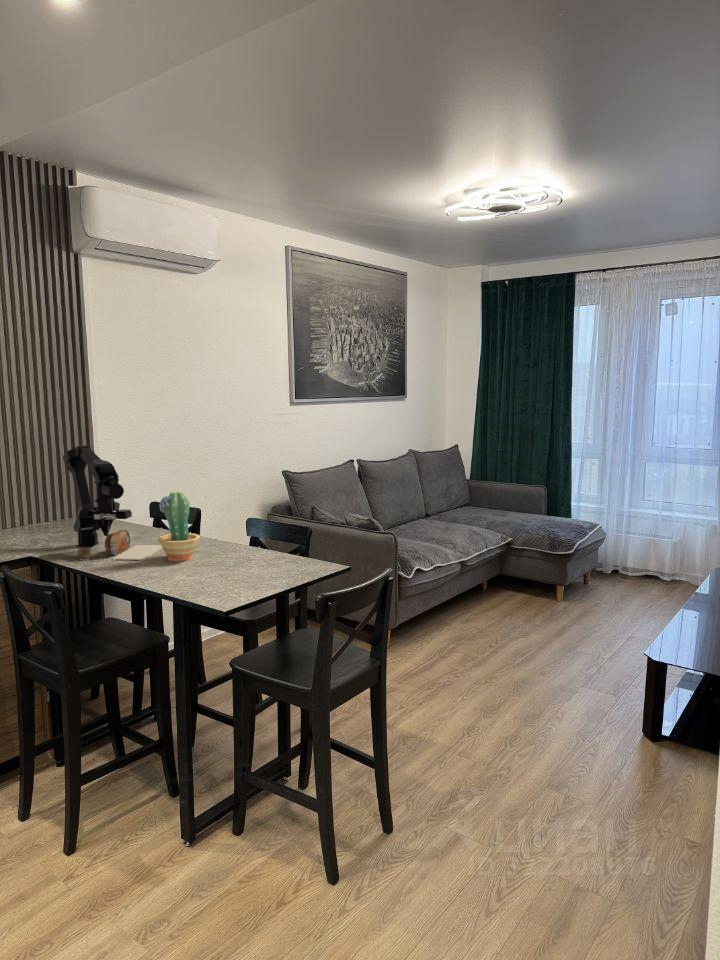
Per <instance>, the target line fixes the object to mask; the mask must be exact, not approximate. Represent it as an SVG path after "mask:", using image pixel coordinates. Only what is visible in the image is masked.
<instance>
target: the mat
mask: <svg viewBox="0 0 720 960" xmlns="http://www.w3.org/2000/svg"><path fill="white" fill-rule="evenodd" d="M159 550H160V551H161V550H163V548H162V545H159V544H158V545H156V544H155V545H152V544H151V545H150V544H148V545H147V544H145V545H144V544H135V545H133V546H132V547H129V548H128V550H126V551H124V552H123V553H121V554H119V555H117V556H113V557H112V558H111V560H112V559H116V560H115V561H130V560H139V561H138V562H140V561H141V562H143V561H145V560H147V559H149V558H150V557H151V556H154V555H155V554H157V553H159V552H160V551H159ZM156 552H157V553H156Z"/></svg>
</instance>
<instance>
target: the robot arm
mask: <svg viewBox="0 0 720 960" xmlns="http://www.w3.org/2000/svg"><path fill="white" fill-rule="evenodd" d="M62 455H63V456H62V459H63V460H62V461H63V463H64V465H65V468H66V470H67V471H68V472H70V473H71V476H72V481H73V484H74V489H75V490H74V491H75V493H76V494H75V495H76V498H77V503H78V510H77V512H76V520H75V521H74V524H73V531H74V532H76V533H77V543H78V544H76V545H75V546H79V547H78V548H82V547H90V548H92V546H93V547H94V545H95V546H97V545H99V544H100V542H99V540H98V537H99V535H98V533H97V531H99V530H101V532H102V534H103V536H104V537H107V536H108V535H109V534H110V533H109V532H110V530H111V528H112V524H113V523H114V521H116V520H128V519H129V518H132V517H133V515H132V514H133V513H132V512H133V511H131V509H120V504H121V503H119V502H118V501H115V500H118V499H120V498H121V497H123V495H124V493H125V490H124V486H122V485H121V484H120V483H119V481H120V478H119V475H118V472H117V470H116V468H115V465H114V464H113V463H111V462H110V461H107V460H103V459H101V458H100V457H99V456H98V455H97V454H96V453H95V452H94V451H93V450H92V449H91V447H90V445H78V446H75V447H74V448H72V449H69V450H66V451H65V453H64V454H62ZM87 465H88V466H89V468H90V469H91V470H90V471H91V472H90V474H92V477H93V479H94V481H93V484H95V493H96V496H95V497H96V498H95V499H94V500H95V501H94V502H95V503H96V507H95V506H94V505H93V503H92V499H91V495H90V491H89V490H90V489H89V486H88V481H87V477H86V471H85V469H86V467H87ZM98 543H99V544H98ZM96 544H97V545H96Z"/></svg>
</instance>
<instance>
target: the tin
mask: <svg viewBox="0 0 720 960" xmlns="http://www.w3.org/2000/svg"><path fill="white" fill-rule="evenodd" d="M130 544H131V536H130V533H129V531H128V530H127V529H122V530H121V529H120V530H117V531H115V532H112V533H109V534H108V536H105V540H104V547H105V548H104V549H105V553H106V554H107V555H108V556H111V555H113V556H114V555H117V554H119V553H122V552H124V551H126V550H128V549H130Z"/></svg>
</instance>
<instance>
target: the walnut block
mask: <svg viewBox="0 0 720 960" xmlns="http://www.w3.org/2000/svg"><path fill="white" fill-rule="evenodd" d="M91 556H92V554H91V547H78V548H77V561H81V560H80V559H91V558H92V557H91ZM90 557H91V558H90Z"/></svg>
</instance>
